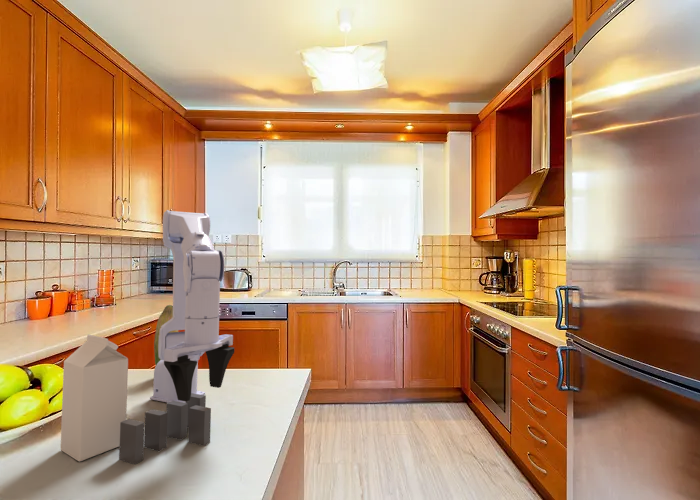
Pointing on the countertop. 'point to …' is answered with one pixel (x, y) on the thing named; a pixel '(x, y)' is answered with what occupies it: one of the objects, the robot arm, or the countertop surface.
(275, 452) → the countertop surface
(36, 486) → the countertop surface
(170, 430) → the domino
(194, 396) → the domino
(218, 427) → the countertop surface
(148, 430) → the domino
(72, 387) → the milk carton
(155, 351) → the vegetable
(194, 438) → the domino
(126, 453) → the domino end
